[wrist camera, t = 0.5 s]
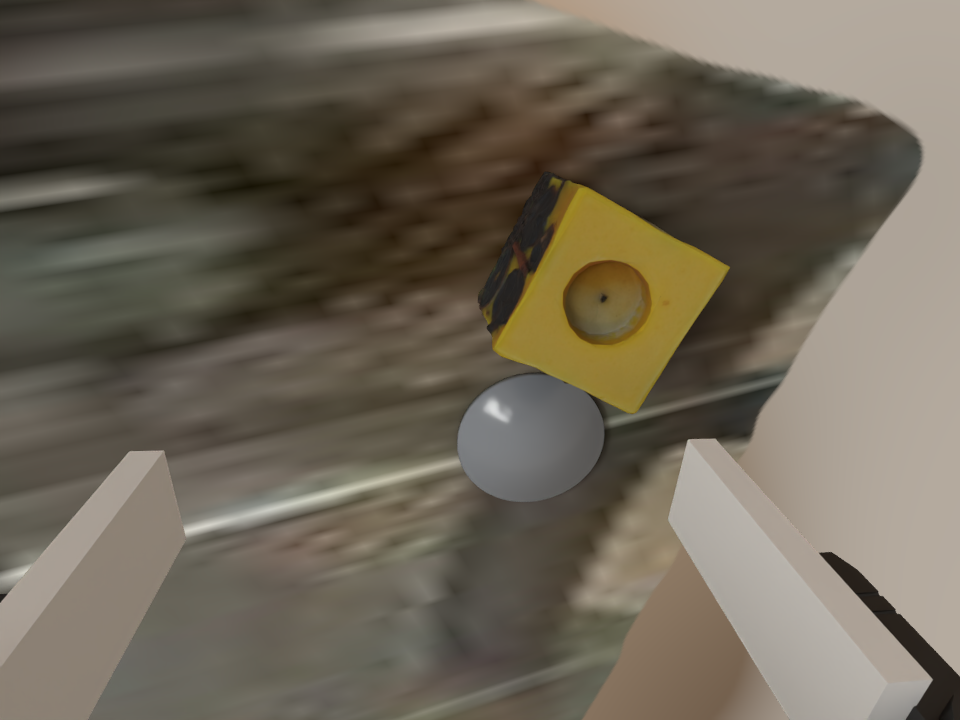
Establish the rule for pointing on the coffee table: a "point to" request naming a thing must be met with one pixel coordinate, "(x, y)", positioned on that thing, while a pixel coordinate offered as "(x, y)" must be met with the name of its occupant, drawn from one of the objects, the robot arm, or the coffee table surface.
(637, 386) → the candle
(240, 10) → the coffee table surface
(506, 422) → the coaster
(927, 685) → the robot arm
